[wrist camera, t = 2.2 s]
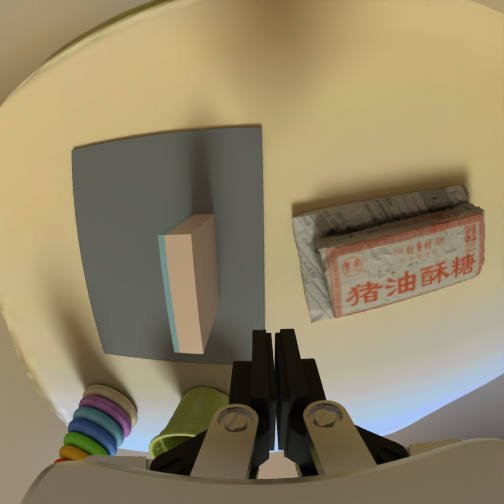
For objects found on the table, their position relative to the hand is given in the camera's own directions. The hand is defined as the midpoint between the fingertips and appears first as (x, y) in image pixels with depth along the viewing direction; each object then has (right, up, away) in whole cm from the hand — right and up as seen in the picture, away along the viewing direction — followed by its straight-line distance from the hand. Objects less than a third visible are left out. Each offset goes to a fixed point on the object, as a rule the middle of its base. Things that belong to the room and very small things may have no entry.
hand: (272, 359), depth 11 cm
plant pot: (-6, -13, +19) cm, 24 cm away
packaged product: (+12, +5, +14) cm, 19 cm away
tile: (-5, +4, +14) cm, 15 cm away
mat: (-9, +4, +14) cm, 17 cm away
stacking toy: (-19, -16, +20) cm, 32 cm away
